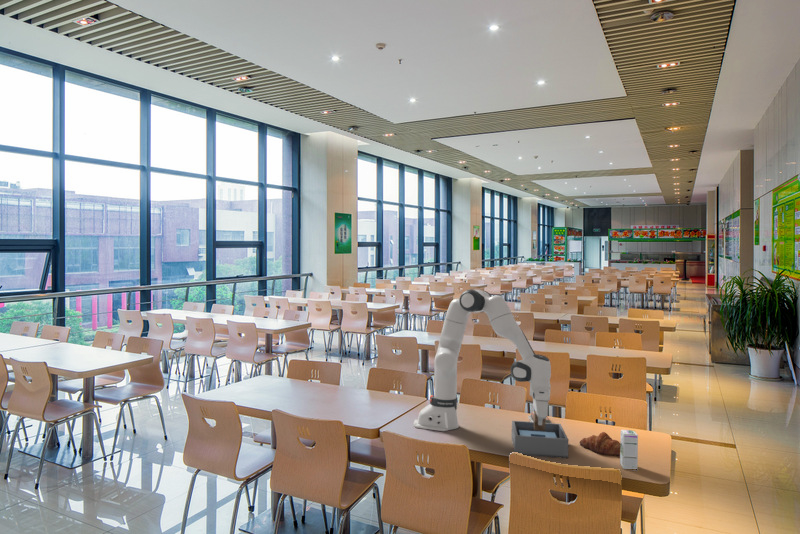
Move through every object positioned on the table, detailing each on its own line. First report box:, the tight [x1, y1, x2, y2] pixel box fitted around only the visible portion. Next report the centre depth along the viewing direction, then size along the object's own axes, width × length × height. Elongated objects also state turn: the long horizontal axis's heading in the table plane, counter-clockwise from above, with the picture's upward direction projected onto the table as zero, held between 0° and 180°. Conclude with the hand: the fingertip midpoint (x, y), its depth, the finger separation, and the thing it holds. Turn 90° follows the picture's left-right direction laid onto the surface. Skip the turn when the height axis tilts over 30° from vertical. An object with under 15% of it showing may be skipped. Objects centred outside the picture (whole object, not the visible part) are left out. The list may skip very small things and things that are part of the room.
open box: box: [511, 420, 569, 459], centre depth 240 cm, size 22×22×8 cm
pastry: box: [579, 431, 620, 457], centre depth 238 cm, size 17×15×8 cm
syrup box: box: [619, 429, 639, 470], centre depth 219 cm, size 6×6×14 cm
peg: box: [533, 410, 545, 431], centre depth 239 cm, size 4×4×7 cm
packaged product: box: [527, 410, 552, 423], centre depth 277 cm, size 18×5×10 cm
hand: (539, 422), depth 239 cm, fingers closed on peg, 4 cm apart
